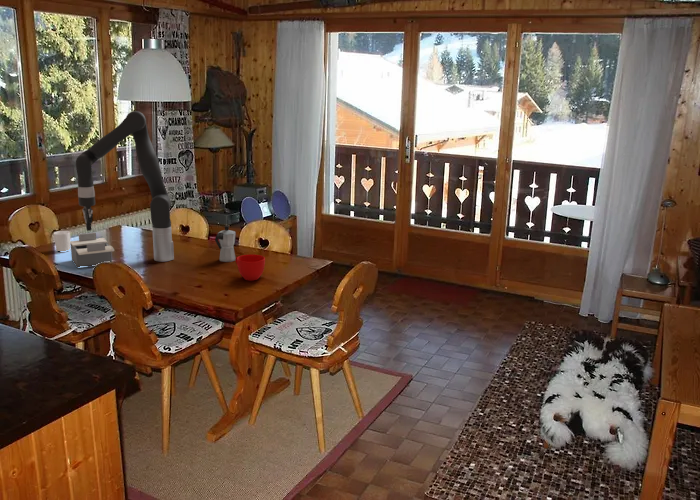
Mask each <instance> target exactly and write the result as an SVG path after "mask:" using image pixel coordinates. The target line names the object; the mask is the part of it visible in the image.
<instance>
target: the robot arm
mask: <svg viewBox="0 0 700 500" xmlns="http://www.w3.org/2000/svg"><path fill="white" fill-rule="evenodd" d="M147 125H148V124H147V118H146V116H145V114H144V113H142V112H141V111H139V110H132V111H130V112H128V114H127V115H126V117H125V118H124V119H123V120H122V121H121V122H120V123H119V124H118V125H117V126H116V127H115V128H114V129H112V131H110V132H109V133H107V134H106V135H104V136H103V137H101V138H100V139H99V140H97V141H96V142H95V143H94V144H92V145H91V146H90V147H89V148H88V149H86V150H85V151H83V152H82V153H81V154H79V155H78V156H77V157H76V160H75V168H76V174H77V198H78V199H77V200H78V206H80V207H83V208H82V213H83V218H84V219H83V220H84V222H85V230H86V231H88V232H89V231H90V232H91V231H92V223H93V218H94V217H93V216H94V214H93V213H94V211H93V209H92V207H93V206H95V205H96V191H95V188H94V187H95V186H94V176H93V172H92V171H93V169H92V165H94V164H95V163H96V162H97V161H98V160H99V159H102V158H103V157H104V156H106V155H108V153H110V152H111V151H113V149H114V148H115V147H117V146H118V145H119V144H120V143H121V142H123V140H126V138H128V137H129V136H131V135H132V137H133V141H134V145H135V152H136V158H137V161H138V162H137V163H138V164H139V169H140V171H141V174H142V177H144V179H145V182H146V183H147V185H148V188H149V190H150V194H151V201H150V203H149V205H150V207H149V208H150V211H149V212H150V221H151V227H152V229H151V230H152V241H153V242H152V245H153V260H154V261H156V262H169V261H172V260H175V252H174V251H175V250H174V241H173V237H172V235H173V234H172V221H171V210H170V209H171V205H172V202H171V198H170V196H169V193H168V190H167V188H166V186H165V184H164V179H163V175H162V171H161V168H160V167H161V165H160V163H159V159H158V157H157V152H156V150H155V148H154V145H153V143H152V141H151V138H150V134H149V131H148V126H147Z"/></svg>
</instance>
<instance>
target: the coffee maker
mask: <svg viewBox="0 0 700 500" xmlns="http://www.w3.org/2000/svg"><path fill="white" fill-rule="evenodd" d="M229 228H230V226H229V225H224V229H223V230H221V231H219V232H217V235H215V237H214V241H215V244H216V245H217V247H218V249H219V250H220V253H219V262H224V263H232V262H236V254H235V253H236V252H235V249H234V245H235V241H236V231H235V230H230V229H229Z"/></svg>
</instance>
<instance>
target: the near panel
mask: <svg viewBox="0 0 700 500" xmlns="http://www.w3.org/2000/svg"><path fill="white" fill-rule="evenodd" d="M76 251H77V253H78V254H79V255H83V254H92V253H101V252H110V251H111V252H115V248H114V247H113V246H112V245H109V246H105V243H104V242H103V243H94V244H87V248H84V249H76Z"/></svg>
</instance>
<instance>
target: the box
mask: <svg viewBox="0 0 700 500" xmlns="http://www.w3.org/2000/svg"><path fill="white" fill-rule="evenodd" d="M105 246H110V244H108V242H107V243H105ZM84 248H87V245H83V246H72V244H71V243H70V253H71V261H72V260H73V261H74V263H75V264H76V266H77V267H80V266H92V265H96V264H98V263H101V262H104V261H110V262H112V260H113V259H112V251H110V252H101V253H92V254H83V255H79V254H78V253H77V251H76V249H84ZM73 261H72V262H73ZM74 263H73V264H74ZM75 264H74V265H75ZM76 266H75V267H76ZM77 267H76V268H77Z"/></svg>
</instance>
